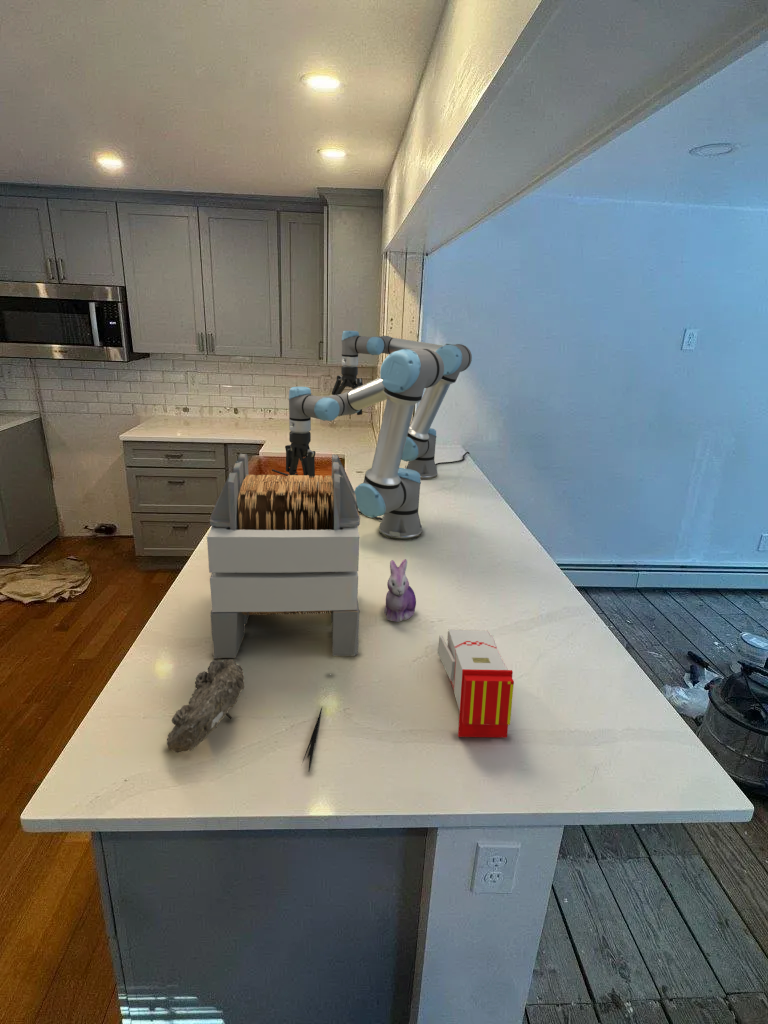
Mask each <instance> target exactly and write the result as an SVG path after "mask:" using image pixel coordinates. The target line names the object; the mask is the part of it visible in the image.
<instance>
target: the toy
mask: <svg viewBox="0 0 768 1024" xmlns="http://www.w3.org/2000/svg"><path fill="white" fill-rule="evenodd" d="M446 640H447V643H446V641H445V639H444V636H443V635H442V634H439V637H438V646H437V656H438V657H439V659H440V661H441V663H442V666H443V668H444V670H445V672H446V674H447V677H448V679H449V681H450V684H451V687H452V690H453V693H454V697H455V701H456V705H457V708H458V711H459V714H458V715H459V716H458V730H457V731H458V732H457V737H458V738H508V731H509V726H510V725H511V717H512V707H513V697H514V696H513V695H514V684H515V680H514V679H513V673H514V671H513V670H512V669H508V667H507V665H506V662H505V661H504V659H503V658H502V655H501V653H500V651H499V649H498V647H497V643H496V639H495V637H494V635H493V634H491V632H490V631H489V629H467V628H466V629H465V628H463V629H461V628H460V629H459V628H448V630H447V639H446Z"/></svg>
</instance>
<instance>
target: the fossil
mask: <svg viewBox="0 0 768 1024" xmlns="http://www.w3.org/2000/svg"><path fill="white" fill-rule="evenodd" d="M243 670H244V669H243V667H242V665H240V664H237V662H236V661H235V660H234V659H233V658H230V659H229V658H226V659H224V660H223V661H222V660H217V659H212V660H211V661H210V663H209V665H208V666H207V671H201V672H199V673H198V674H197V675H196V676H195V680H194V684H195V685H194V687H195V689H194V690H193V693H192V694H191V697H190V698H189V700H188V704H184V705H182V706H181V707H180V709H177V710H176V711H175V713H174V715H173V716H172V718H171V723H172V724H173V727H172V730H171V731H170V732H168V734H167V738H166V741H167V742H166V745H167V749H168V750H169V751H173V752H174V753H176V754H178V753H182V752H188V751H189V752H192V751H193V750H195V748H196V747H197V746H199V744H200V743H201V742H203V741H204V740H205V739H206V738H207V737H208V736H209V735H210V734H211V733H212V732H214V730H215V729H217V727H218V726H219V724H220V722H221V721H222V720H223V719H224V718H225V716H226V717H227V719H229V720H233V717H232V715H230V714H229V710H230V709H231V708H234V706H235V704H236V703H237V702H238V699H239V697H240V695H241V693H242V691H243V690H245V689H244V688H245V675H244V671H243Z"/></svg>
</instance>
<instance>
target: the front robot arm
mask: <svg viewBox="0 0 768 1024" xmlns="http://www.w3.org/2000/svg"><path fill="white" fill-rule="evenodd" d="M443 373H444V363H443V360H442V358H441V357H440V355H439V354H438V353H437V352H435V351H433V350H430V349H411V350H408V349H402V350H399V351H395V352H392V353H391V354H387V356H386V357H385V358H384V360H383V361H382V363H381V366H380V371H379V376H380V377H377V378H375V379H372V380H371V381H369V382H366V383H364V384H363V385H361V386H359V387H357V388H355V389H352V388H351V389H350V390H348V391H346V392H344V393H343V392H342V393H341V394H338V395H332V394H331V395H322V396H321V395H313V394H312V390H311V388H310V387H308V386H292V387H290V388H289V391H288V414H289V415H288V418H289V420H288V421H289V423H288V424H289V425H288V427H289V428H288V429H289V433H288V435H289V436H288V440H289V442H290V444H287V445H285V446H284V448H285V472H287V473H285V472H282V471H280V470H276V469H274V468H272V469H271V472H274V473H277V474H278V475H281V476H284V477H285V476H286V477H287V476H288V475H299V474H298V473H299V472H298V471H297V470H298V466H299V461H300V464H301V469H302V474H303V475H309V478H310V477H311V479H312V477H313V479H314V476H315V475H316V465H315V464H316V462H315V461H316V459H315V457H316V450H311V448H310V443H311V440H312V439H311V437H312V432H310V431H312V421H311V420H312V419H316V420H321V421H324V422H325V421H328V422H332V421H335V419H336V418H338V417H341V416H350V415H355V414H357V413H358V412H359V411H360V410H361V409H362V410H363V409H366V408H368V407H371V406H373V405H376V404H378V403H381V402H383V401H386V402H385V406H384V411H383V414H382V420H381V424H380V429H379V433H378V437H377V440H376V441H377V442H376V445H375V451H374V455H373V460H372V464H371V468H368V469H367V470H366V471H365V474H364V477H363V481H362V483H360V484H358V485H357V486H356V487H355V488H354V492H355V496H356V501H357V506H358V511H359V515H362V516H364V517H367V518H370V519H373V520H377V521H381V522H379V526H378V533H379V534H380V535H381V536H382V537H385V538H387V539H389V540H395V541H410V540H415V539H418V538H420V537H421V536H422V535H423V525H422V524H421V518H420V515H419V507H420V506H419V505H420V494H421V493H420V492H421V482H422V481H421V479H420V474H419V473H418V472H417V471H414V470H411V469H406V468H405V467H400V465H401V461H402V460H401V458H402V454H403V450H404V446H405V442H406V438H407V434H408V430H409V426H410V424H411V422H412V419H413V413H414V409H415V405H416V404H419V403H420V401H421V399H422V397H423V395H424V392H425V389H426V388H429V387H432V386H434V385H436V384H437V383H438V382H439V381H440V380H441V378H442V376H443ZM381 516H382V517H381Z"/></svg>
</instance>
